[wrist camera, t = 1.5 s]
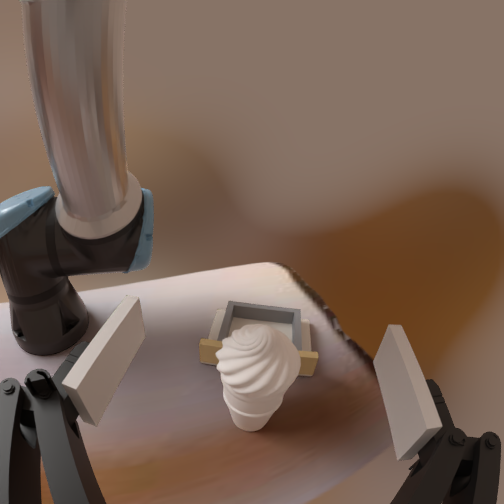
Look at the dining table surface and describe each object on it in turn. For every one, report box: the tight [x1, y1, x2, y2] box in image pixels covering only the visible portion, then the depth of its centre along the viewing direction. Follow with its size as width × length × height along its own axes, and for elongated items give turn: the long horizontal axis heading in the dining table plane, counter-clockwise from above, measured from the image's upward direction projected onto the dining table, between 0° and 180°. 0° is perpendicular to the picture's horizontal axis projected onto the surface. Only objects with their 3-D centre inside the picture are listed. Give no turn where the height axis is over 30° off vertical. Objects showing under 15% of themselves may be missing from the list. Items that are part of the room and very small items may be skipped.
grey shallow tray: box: [199, 301, 318, 376], centre depth 44 cm, size 13×16×4 cm
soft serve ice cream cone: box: [215, 324, 301, 431], centre depth 29 cm, size 8×8×16 cm
